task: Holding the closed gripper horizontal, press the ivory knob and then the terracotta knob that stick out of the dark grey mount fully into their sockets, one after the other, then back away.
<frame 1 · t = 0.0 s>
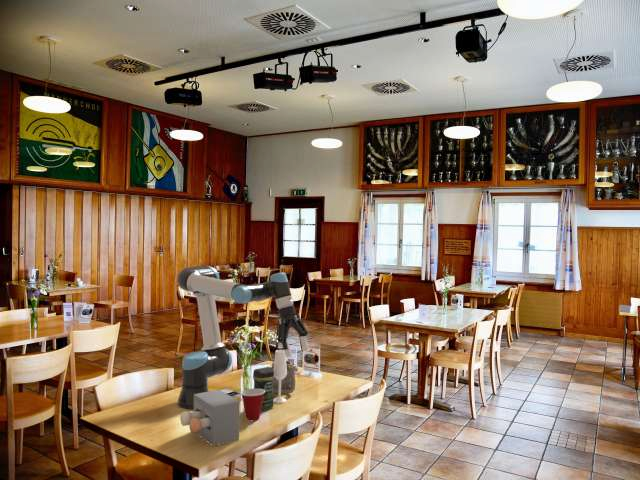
hand: (297, 353, 220), 28 cm above the table, tool tilted 20°, fingers open, 13 cm apart
champagne flute: (279, 400, 241), on the table
plastic cup: (252, 418, 218), on the table
coffee jar: (263, 408, 231), on the table
ivory knob: (196, 416, 198), point 8 cm above the table, slide at 0.0 cm
terracotta knob: (206, 422, 191), point 8 cm above the table, slide at 0.0 cm
mount: (215, 435, 198), on the table
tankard: (285, 391, 255), on the table
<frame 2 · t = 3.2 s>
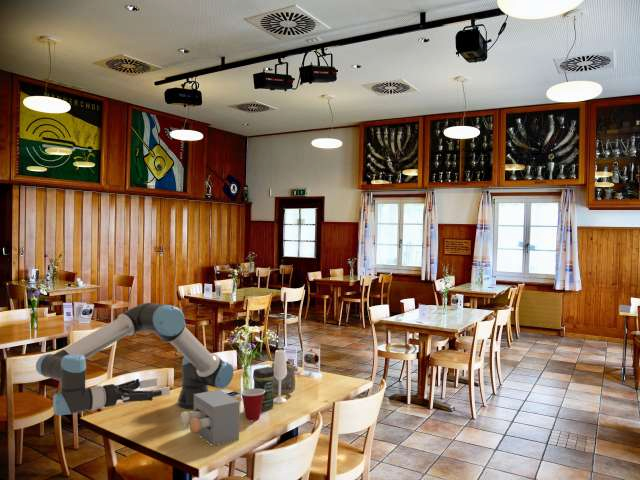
hand: (163, 386, 189), 22 cm above the table, tool horizontal, fingers open, 12 cm apart
nothing on the table moved.
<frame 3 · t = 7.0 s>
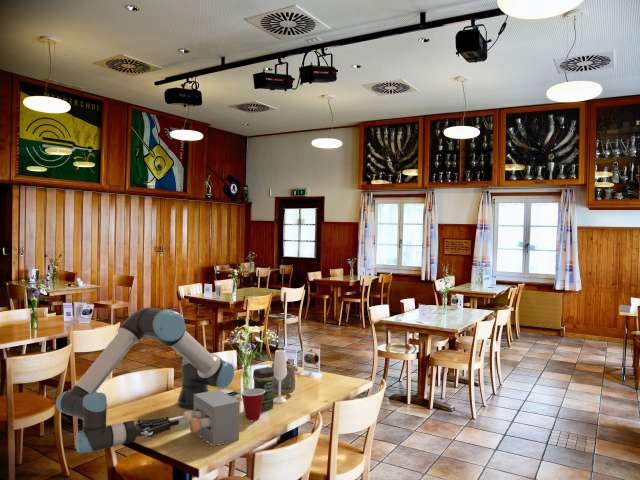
hand: (185, 419, 195), 8 cm above the table, tool horizontal, fingers closed
ivory knob: (199, 415, 198), point 8 cm above the table, slide at 1.2 cm, touching gripper
everything else where it was.
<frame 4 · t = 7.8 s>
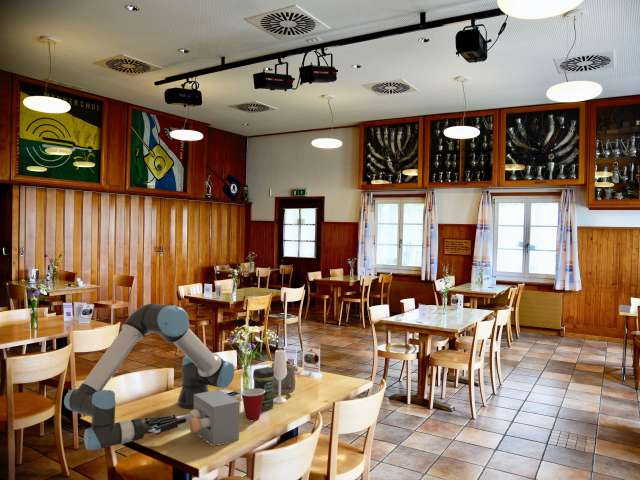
hand: (192, 417, 196), 8 cm above the table, tool horizontal, fingers closed
ivory knob: (206, 413, 200), point 8 cm above the table, slide at 4.0 cm, touching gripper, mount
everything else where it was.
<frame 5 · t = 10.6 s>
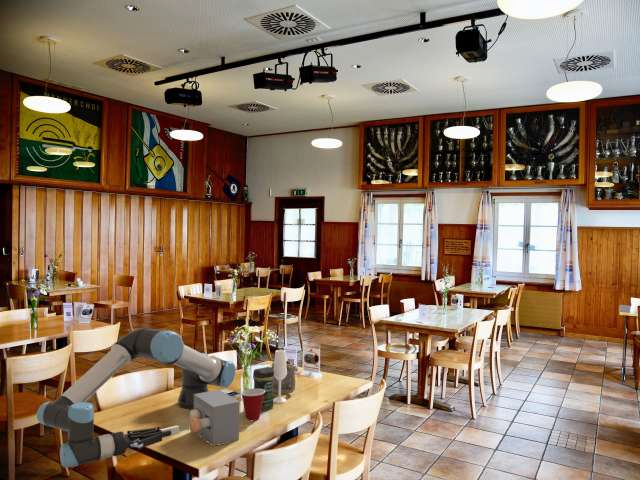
hand: (178, 429, 184), 8 cm above the table, tool horizontal, fingers closed
ivory knob: (205, 414, 200), point 8 cm above the table, slide at 3.8 cm
everything else where it was.
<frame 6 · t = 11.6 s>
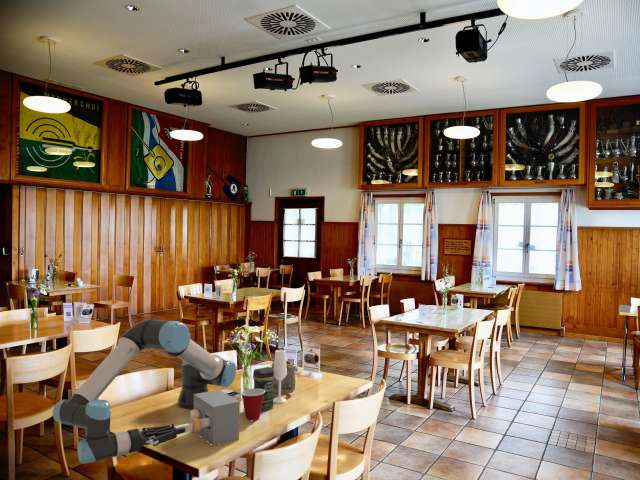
hand: (191, 426, 187), 8 cm above the table, tool horizontal, fingers closed
terracotta knob: (206, 422, 191), point 8 cm above the table, slide at 0.1 cm, touching gripper
everything else where it was.
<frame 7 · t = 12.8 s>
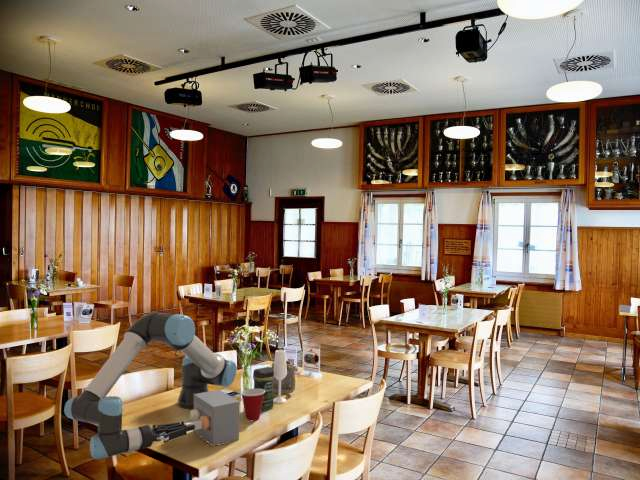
hand: (201, 424, 190), 8 cm above the table, tool horizontal, fingers closed
terracotta knob: (215, 420, 194), point 8 cm above the table, slide at 4.0 cm, touching gripper, mount
everything else where it was.
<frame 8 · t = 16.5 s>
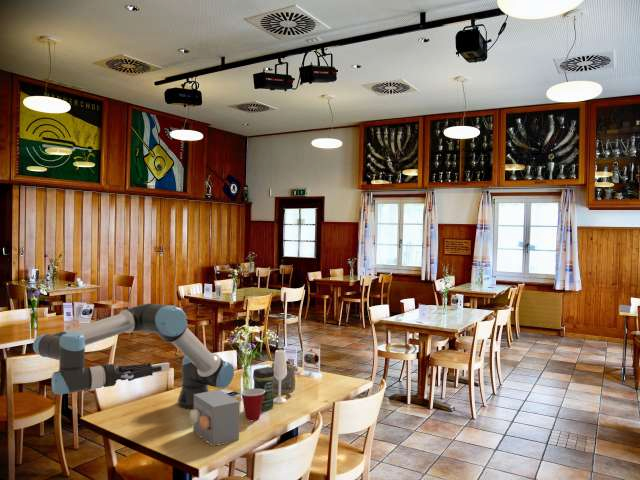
hand: (168, 366, 188), 30 cm above the table, tool horizontal, fingers closed
terracotta knob: (215, 420, 194), point 8 cm above the table, slide at 3.8 cm
everything else where it was.
at the end: ivory knob slide at 3.8 cm; terracotta knob slide at 3.8 cm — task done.
